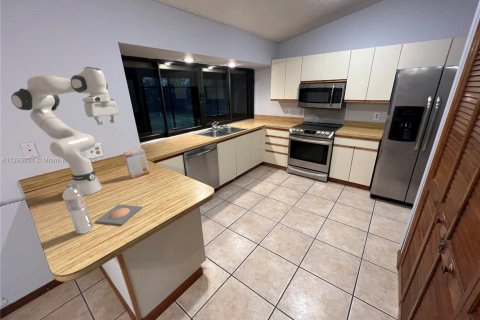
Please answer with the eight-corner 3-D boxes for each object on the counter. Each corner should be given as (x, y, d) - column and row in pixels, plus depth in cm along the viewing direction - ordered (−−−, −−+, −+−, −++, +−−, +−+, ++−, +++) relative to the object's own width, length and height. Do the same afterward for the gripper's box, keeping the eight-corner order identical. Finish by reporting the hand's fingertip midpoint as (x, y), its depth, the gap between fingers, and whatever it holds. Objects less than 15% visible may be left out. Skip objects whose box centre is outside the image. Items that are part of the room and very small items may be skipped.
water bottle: (82, 226, 101) (66, 182, 92) (96, 225, 101) (81, 181, 93) (72, 235, 94) (54, 189, 86) (87, 234, 95) (71, 188, 86)
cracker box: (146, 171, 168) (141, 148, 161) (149, 173, 164) (144, 149, 157) (129, 177, 159) (123, 152, 152) (131, 179, 155) (125, 153, 148)
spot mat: (95, 222, 103) (94, 220, 103) (118, 205, 118) (118, 204, 118) (121, 225, 100) (121, 223, 100) (142, 208, 115) (141, 206, 115)
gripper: (109, 99, 120) (114, 121, 124) (79, 99, 100) (87, 126, 105) (118, 98, 119) (124, 121, 123) (90, 98, 100) (97, 125, 104)
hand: (106, 123), depth 114 cm, fingers open, 8 cm apart
